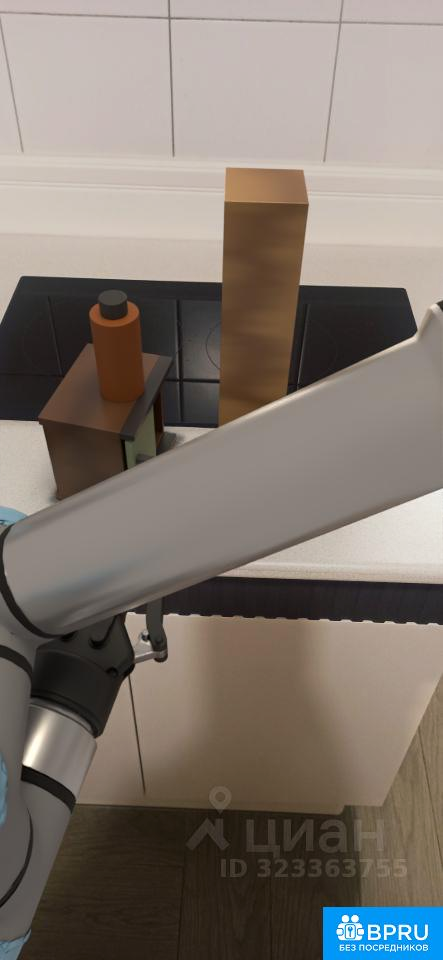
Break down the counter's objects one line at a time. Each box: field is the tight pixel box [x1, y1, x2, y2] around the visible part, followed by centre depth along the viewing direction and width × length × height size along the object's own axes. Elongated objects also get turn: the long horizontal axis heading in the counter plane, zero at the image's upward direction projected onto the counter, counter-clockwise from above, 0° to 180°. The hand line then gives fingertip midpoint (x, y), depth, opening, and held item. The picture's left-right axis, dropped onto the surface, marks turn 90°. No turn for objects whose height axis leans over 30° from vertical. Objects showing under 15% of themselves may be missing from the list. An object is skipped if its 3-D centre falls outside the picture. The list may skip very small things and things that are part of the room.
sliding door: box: [125, 406, 156, 469], centre depth 70 cm, size 5×6×10 cm
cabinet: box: [37, 343, 177, 501], centre depth 73 cm, size 10×13×12 cm
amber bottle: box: [88, 289, 145, 403], centre depth 65 cm, size 5×5×11 cm
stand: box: [218, 167, 310, 427], centre depth 62 cm, size 6×6×35 cm
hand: (153, 486), depth 63 cm, fingers closed
